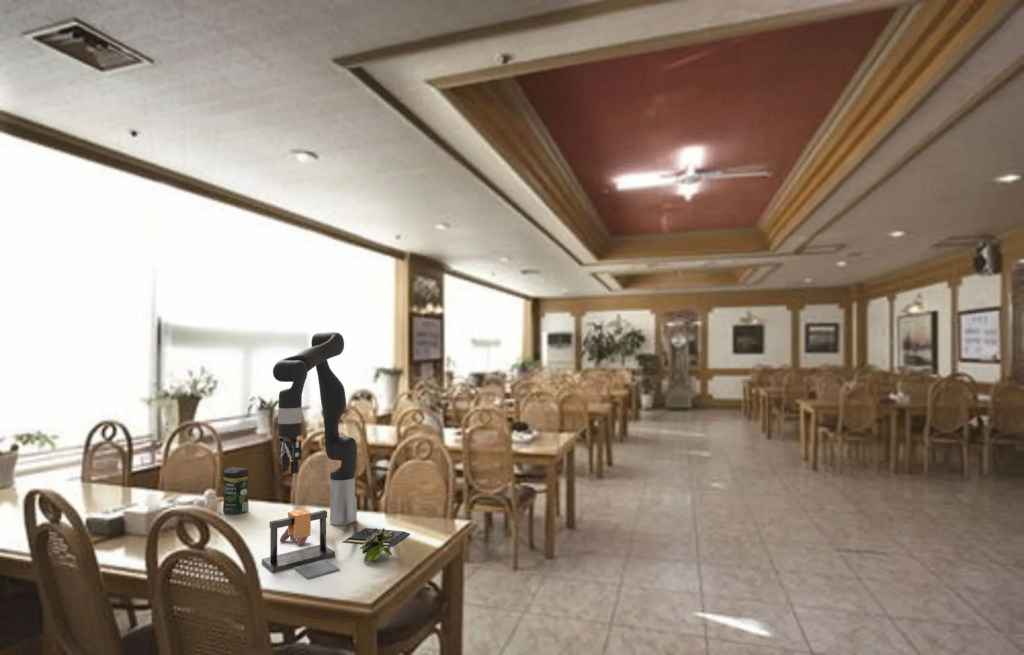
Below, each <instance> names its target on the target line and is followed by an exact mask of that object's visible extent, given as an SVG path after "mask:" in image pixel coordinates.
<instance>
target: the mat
mask: <svg viewBox="0 0 1024 655" xmlns="http://www.w3.org/2000/svg"><path fill="white" fill-rule="evenodd" d="M294 570H295V571H296V572H297V573H299V574H300V575H301V576H302V577H304V578H305V579H306V580H311V579H313V578H317V577H320V576H324V575H328V574H330V573H335V572H338V571H340V567H339V566H337V565H335V564H334V563H332V562H331V561H329V560H328V559H324V560H320V561H316V562H312V563H308V564H305V565H301V566H297V567H294ZM310 578H311V579H310Z"/></svg>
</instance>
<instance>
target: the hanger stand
mask: <svg viewBox="0 0 1024 655" xmlns="http://www.w3.org/2000/svg"><path fill="white" fill-rule="evenodd" d="M310 513H311V522H312V521H317V520H319V544H317V545H312V546H310V547H305V548H300V549H297V550H293V551H288V552H285V553H280V554H278V529H279V528H284V527H288V526H290V525H294V519H293V518H291V517H289V518H288V517H284V518H281V519H280V518H279V519H275V520H269V529H270V536H269V537H270V540H269V542H270V543H269V544H270V546H269V547H270V553H269V554H270V555H269V556H267V557H264V558H261V565H263V566H264V567H265V568H266V569H268V571H270V572H271V573H274V574H275V573H278V572H282V571H285V570H289V569H293V568H295V567H299V566H303V565H307V564H310V563H314V562H318V561H322V560H325V559H326V560H328V559H331V558H334V557H336V551H334V550H333V549H332V548H330V547H328V546H327V518H328V511H327V510H325V509H323V510H319V511H314V512H310Z"/></svg>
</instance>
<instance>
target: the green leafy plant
mask: <svg viewBox="0 0 1024 655" xmlns="http://www.w3.org/2000/svg"><path fill="white" fill-rule="evenodd" d="M377 529H378V528H377V527H376V528H373V527H372V528H371V530H370V531H367V537H368V536H369V537H368V538H365V539H366V541H364V542H363V544H362V546H360V547H359V549H360V550H361V552H362V555H364V554H365V555H364V557H363V558H364V559H363V562H364V564H365V565H366V564H367V563H369V562H371V561H376V560H377V559H379V557H380V556H381V555H382V554H383V552H384V553H385V554H386V555H387V561H388V560H389V558H390V556H392V555H393V554H392V552H391V547H390V545H391V542H392V539H393V537H394V534H395V533H394V532H392V531H391V532H389V533H388V534H389V535H387V534H386V533H387V530H388V529H385V527H383V528H382V530H378V531H377V533H376V532H375V531H376V530H377ZM374 532H375V534H373V533H374ZM370 535H372V536H370ZM391 537H392V539H391V542H390V545H389V546H388V547H384V546H383V542H386V539H388V538H391Z"/></svg>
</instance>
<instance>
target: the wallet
mask: <svg viewBox="0 0 1024 655" xmlns="http://www.w3.org/2000/svg"><path fill="white" fill-rule="evenodd" d="M371 529H372V528H370V527H365V528H363V529H361V530H358V531H357V532H356V533H354V534H352V535H350V536H349V537H347V538H346V539H345V540H343V541H342V542H341V543H343V544H355V545H363V542H364V541H366V539H365V538H368V537H369V536H368V537H367V531H370V530H371ZM382 529H383V528H382ZM382 529H381V528H377V530H376V531H375V532H376V533H377V531H378V530H382ZM386 530H387V533H386V534H387V535H389V534H388V533H389V532H391V531H392V532H394V533H395V534H394V537H393V539H392V537H391V538H388V539H386V542H383V546H384V547H386V548H387V547H388V546H389V545H390V542H391V539H392V542H391V545H390V548H393V547H395V546H396V545H397V544H399V543H401V542H402V541H403V540H405V539H406V538H408V537H409V536H410V535H411V533H410V532H407V531H401V530H392V529H391V530H390V529H386ZM375 532H374V533H373V534H375ZM370 536H372V535H370Z"/></svg>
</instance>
